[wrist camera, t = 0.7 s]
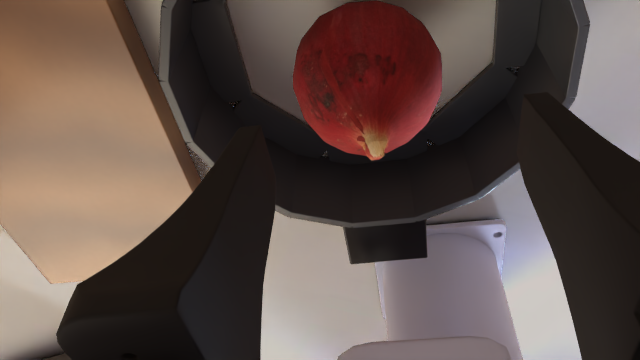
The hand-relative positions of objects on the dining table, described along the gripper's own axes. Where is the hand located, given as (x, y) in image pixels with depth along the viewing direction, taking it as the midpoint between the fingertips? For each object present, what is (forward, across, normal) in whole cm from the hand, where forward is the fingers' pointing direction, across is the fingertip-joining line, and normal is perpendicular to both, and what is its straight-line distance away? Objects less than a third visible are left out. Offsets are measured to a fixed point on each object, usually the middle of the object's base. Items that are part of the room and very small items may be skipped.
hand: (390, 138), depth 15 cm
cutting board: (+10, +17, +6) cm, 20 cm away
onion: (+10, +1, +2) cm, 11 cm away
